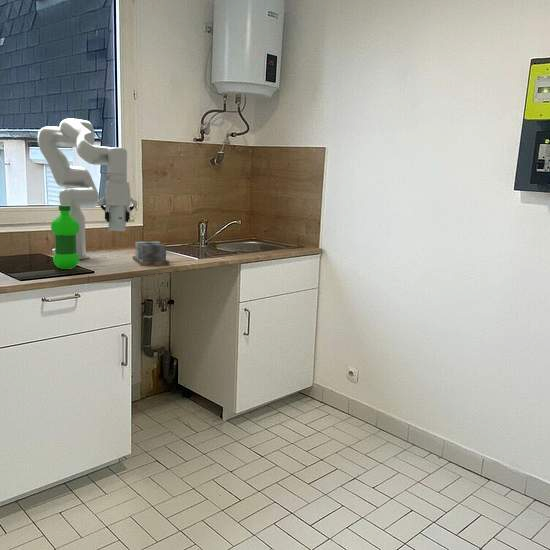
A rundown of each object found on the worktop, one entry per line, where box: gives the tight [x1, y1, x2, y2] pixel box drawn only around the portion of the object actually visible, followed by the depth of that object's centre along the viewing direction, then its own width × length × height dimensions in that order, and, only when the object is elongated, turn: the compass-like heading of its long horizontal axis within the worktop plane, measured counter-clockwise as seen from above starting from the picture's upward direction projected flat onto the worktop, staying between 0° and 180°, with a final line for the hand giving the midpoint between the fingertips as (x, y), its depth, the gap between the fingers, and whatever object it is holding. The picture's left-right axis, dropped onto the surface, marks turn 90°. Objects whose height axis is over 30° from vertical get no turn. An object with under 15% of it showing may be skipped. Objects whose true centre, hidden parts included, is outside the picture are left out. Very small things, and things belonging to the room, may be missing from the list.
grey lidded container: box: [132, 241, 170, 266], centre depth 246 cm, size 12×18×8 cm, turn 25°
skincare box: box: [108, 202, 127, 232], centre depth 231 cm, size 6×4×12 cm
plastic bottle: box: [50, 205, 80, 269], centre depth 219 cm, size 10×10×25 cm
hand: (117, 221), depth 231 cm, fingers closed on skincare box, 7 cm apart
